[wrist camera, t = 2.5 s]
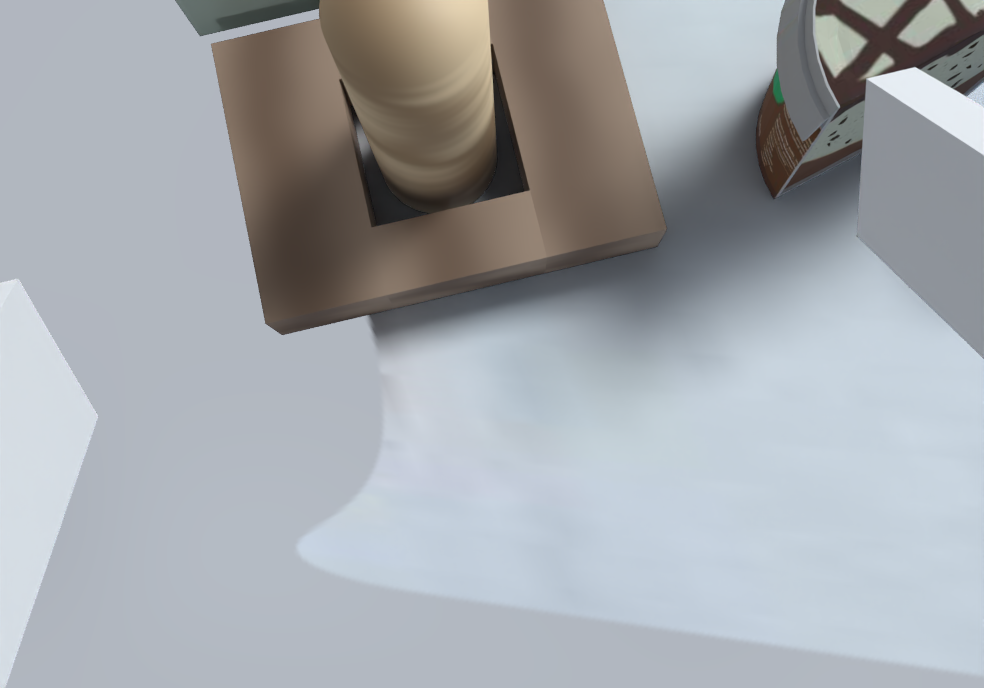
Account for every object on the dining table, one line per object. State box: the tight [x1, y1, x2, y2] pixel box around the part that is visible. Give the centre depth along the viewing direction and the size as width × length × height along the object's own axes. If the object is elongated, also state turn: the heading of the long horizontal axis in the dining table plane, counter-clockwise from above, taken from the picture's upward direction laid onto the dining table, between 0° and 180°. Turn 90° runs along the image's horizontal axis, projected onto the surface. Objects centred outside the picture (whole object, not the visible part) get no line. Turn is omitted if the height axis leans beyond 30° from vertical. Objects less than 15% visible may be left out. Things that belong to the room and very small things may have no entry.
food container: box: [756, 0, 984, 199], centre depth 33 cm, size 12×6×10 cm, turn 118°
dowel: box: [319, 0, 497, 213], centre depth 32 cm, size 5×5×12 cm
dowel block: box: [211, 0, 667, 335], centre depth 37 cm, size 16×12×2 cm
